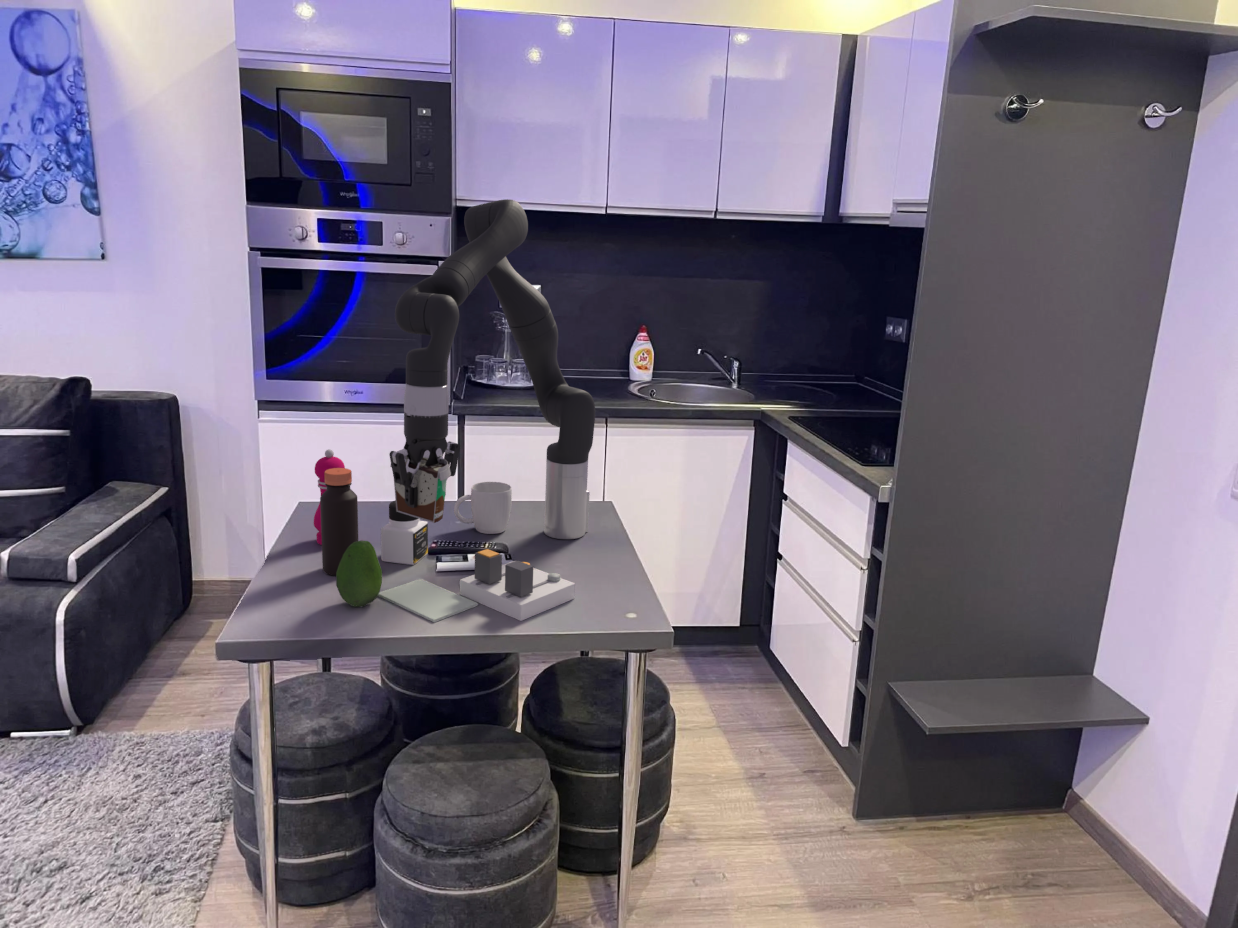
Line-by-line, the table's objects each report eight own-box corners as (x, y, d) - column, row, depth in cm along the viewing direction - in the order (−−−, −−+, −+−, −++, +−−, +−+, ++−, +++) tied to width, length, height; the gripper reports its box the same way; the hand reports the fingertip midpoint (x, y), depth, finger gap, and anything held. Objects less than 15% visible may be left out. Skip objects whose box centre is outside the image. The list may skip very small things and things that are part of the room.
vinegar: (344, 560, 179) (341, 464, 174) (366, 569, 176) (364, 471, 170) (315, 570, 174) (311, 471, 169) (337, 579, 170) (334, 478, 165)
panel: (514, 574, 177) (514, 556, 176) (574, 598, 167) (575, 579, 166) (459, 594, 166) (460, 575, 165) (520, 620, 156) (521, 600, 155)
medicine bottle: (414, 565, 179) (413, 508, 176) (380, 561, 180) (379, 504, 177) (428, 553, 185) (428, 498, 182) (396, 549, 187) (395, 494, 184)
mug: (508, 522, 207) (509, 481, 204) (513, 535, 199) (514, 492, 196) (452, 524, 204) (452, 482, 202) (455, 537, 196) (455, 493, 193)
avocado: (390, 598, 163) (389, 536, 160) (369, 616, 155) (367, 551, 152) (350, 593, 164) (348, 531, 161) (327, 609, 157) (325, 545, 154)
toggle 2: (516, 586, 163) (517, 560, 162) (532, 592, 160) (533, 566, 159) (504, 590, 161) (505, 564, 159) (520, 597, 158) (521, 570, 157)
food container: (465, 516, 160) (465, 462, 157) (440, 525, 155) (440, 469, 152) (415, 502, 166) (415, 450, 163) (390, 509, 161) (390, 455, 158)
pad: (421, 580, 171) (421, 578, 171) (477, 605, 162) (477, 603, 162) (377, 595, 164) (377, 593, 164) (434, 622, 154) (434, 619, 154)
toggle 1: (486, 574, 168) (487, 548, 166) (501, 580, 165) (502, 553, 164) (474, 578, 165) (474, 551, 164) (489, 584, 163) (489, 557, 162)
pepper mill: (318, 534, 193) (315, 444, 188) (353, 535, 194) (350, 445, 188) (310, 546, 186) (306, 453, 181) (346, 547, 187) (343, 454, 182)
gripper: (445, 402, 163) (443, 492, 167) (378, 410, 152) (378, 506, 156) (472, 409, 158) (470, 501, 162) (405, 418, 147) (405, 516, 152)
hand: (425, 503), depth 159 cm, fingers closed on food container, 5 cm apart
